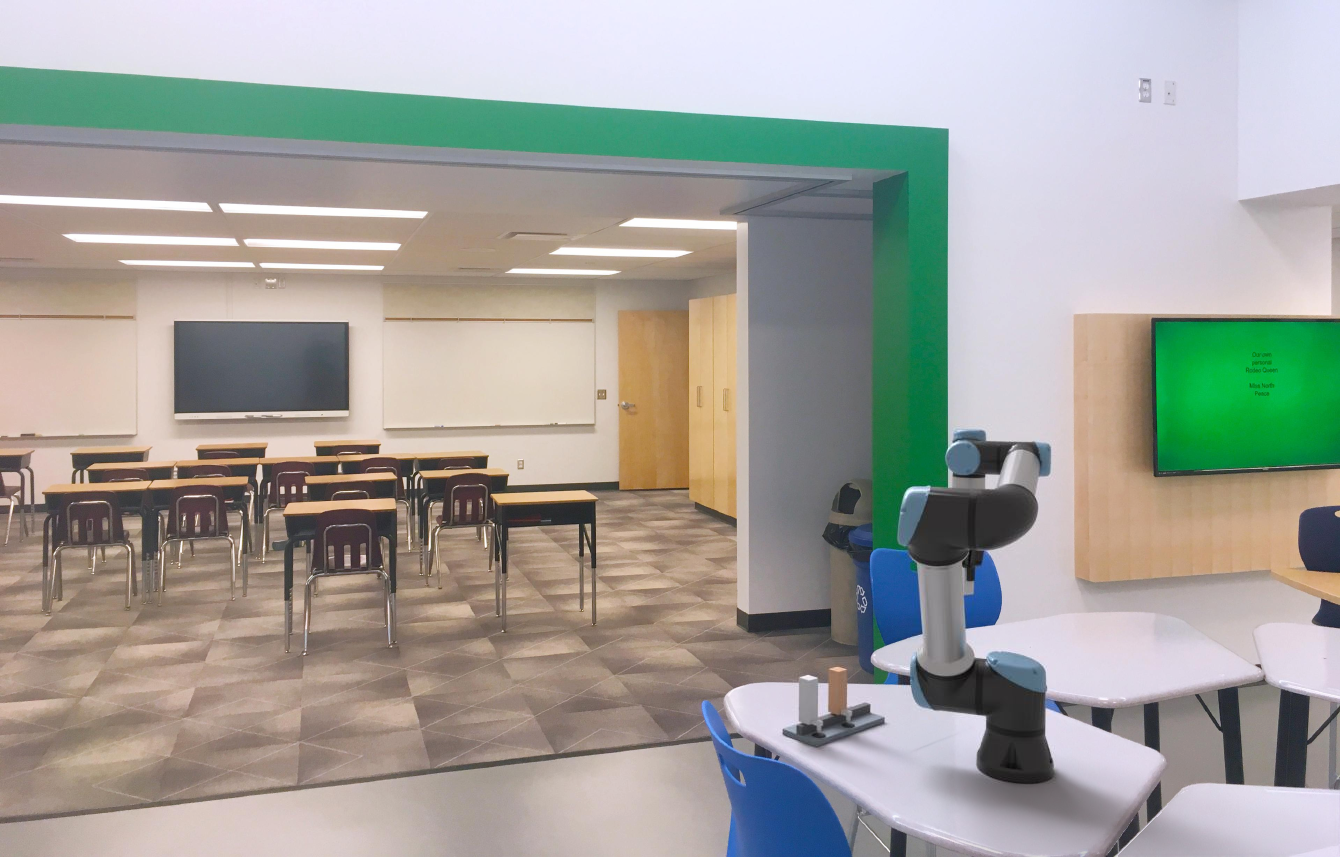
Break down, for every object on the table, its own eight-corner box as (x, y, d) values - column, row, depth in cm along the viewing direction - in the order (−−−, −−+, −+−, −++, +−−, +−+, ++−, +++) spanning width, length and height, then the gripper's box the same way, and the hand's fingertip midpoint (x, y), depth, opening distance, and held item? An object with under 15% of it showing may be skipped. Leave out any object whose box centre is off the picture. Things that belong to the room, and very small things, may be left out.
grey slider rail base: (851, 710, 243) (851, 655, 242) (884, 721, 235) (885, 665, 235) (782, 733, 228) (783, 674, 227) (816, 746, 220) (816, 685, 219)
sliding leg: (836, 714, 234) (837, 666, 234) (854, 720, 230) (855, 671, 230) (828, 717, 232) (828, 668, 232) (846, 723, 228) (846, 674, 228)
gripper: (999, 497, 232) (997, 598, 233) (964, 491, 244) (963, 587, 245) (972, 498, 229) (970, 601, 231) (938, 492, 241) (937, 589, 243)
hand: (966, 593), depth 238 cm, fingers closed
